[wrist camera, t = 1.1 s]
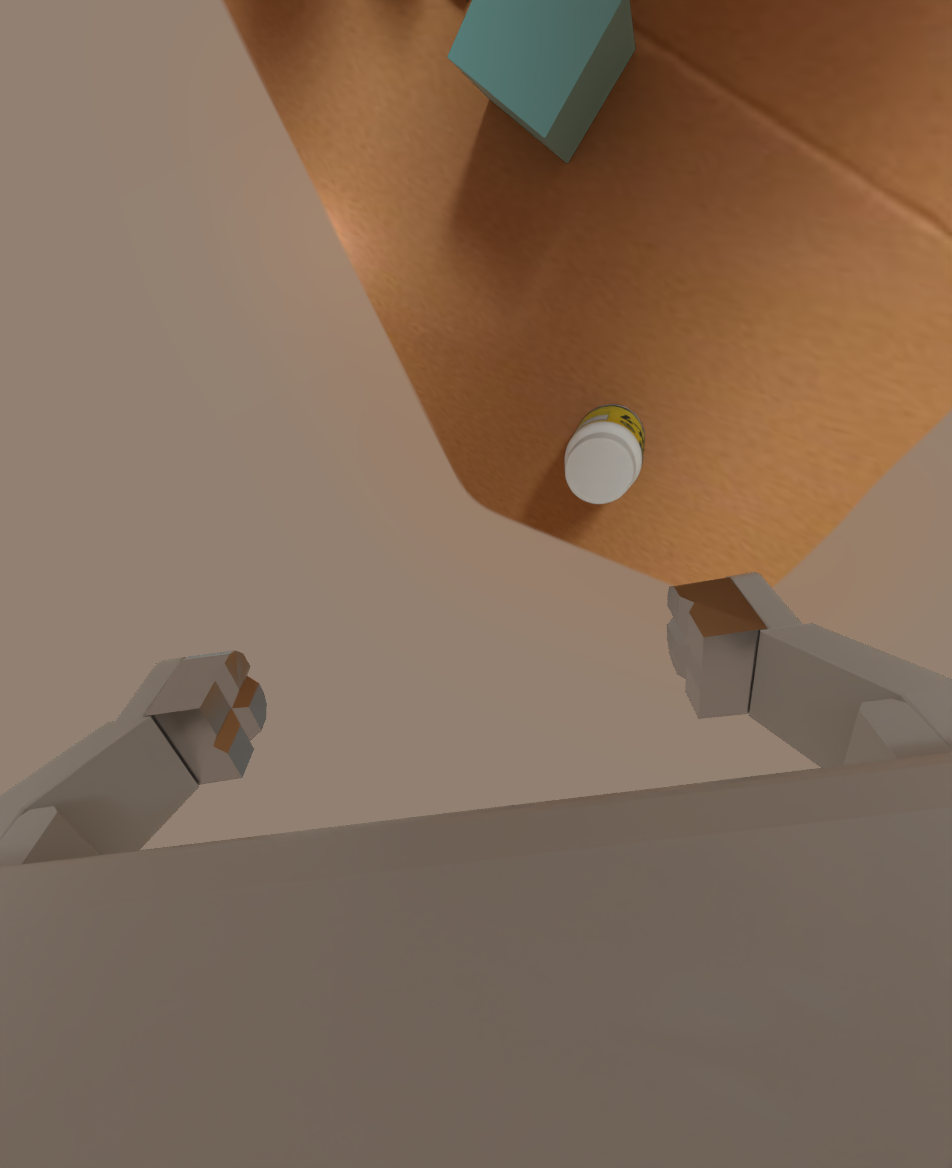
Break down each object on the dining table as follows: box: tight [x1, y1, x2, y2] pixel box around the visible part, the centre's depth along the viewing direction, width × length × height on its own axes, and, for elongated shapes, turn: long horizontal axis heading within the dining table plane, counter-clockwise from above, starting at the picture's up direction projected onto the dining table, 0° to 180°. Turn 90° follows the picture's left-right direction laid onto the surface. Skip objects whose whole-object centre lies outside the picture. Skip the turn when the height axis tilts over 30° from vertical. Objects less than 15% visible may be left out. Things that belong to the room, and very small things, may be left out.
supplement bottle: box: [564, 404, 645, 504], centre depth 36 cm, size 5×5×8 cm
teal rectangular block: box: [448, 0, 636, 164], centre depth 28 cm, size 6×6×8 cm
